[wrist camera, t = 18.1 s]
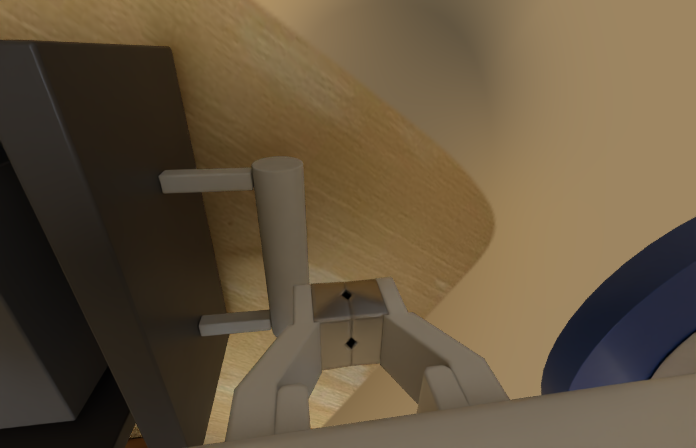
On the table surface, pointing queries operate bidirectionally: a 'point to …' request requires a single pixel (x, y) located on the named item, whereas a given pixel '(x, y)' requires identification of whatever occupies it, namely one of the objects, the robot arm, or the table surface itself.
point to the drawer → (138, 233)
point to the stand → (136, 443)
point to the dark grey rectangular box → (38, 321)
